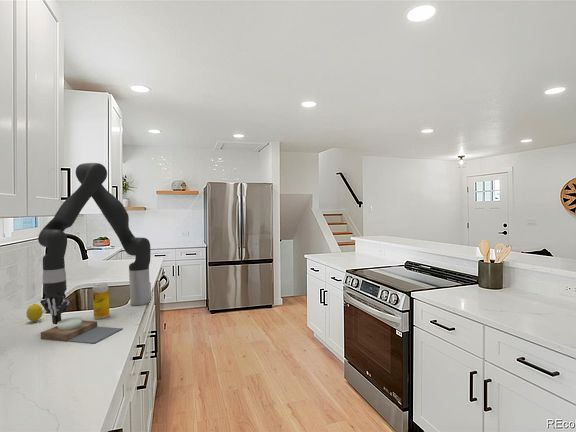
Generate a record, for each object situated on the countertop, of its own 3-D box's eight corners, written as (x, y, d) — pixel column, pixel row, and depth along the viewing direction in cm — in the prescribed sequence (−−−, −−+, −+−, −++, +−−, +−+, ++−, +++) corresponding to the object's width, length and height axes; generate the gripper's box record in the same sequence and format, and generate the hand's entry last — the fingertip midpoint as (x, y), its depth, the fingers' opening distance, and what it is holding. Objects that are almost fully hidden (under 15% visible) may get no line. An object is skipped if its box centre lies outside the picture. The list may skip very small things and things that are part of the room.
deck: (73, 325, 138) (72, 319, 138) (97, 327, 135) (97, 321, 135) (40, 339, 124) (40, 332, 124) (67, 341, 121) (66, 334, 121)
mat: (98, 327, 135) (98, 326, 135) (122, 329, 132) (122, 328, 132) (67, 341, 121) (67, 340, 121) (94, 343, 118) (94, 342, 118)
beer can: (90, 318, 146) (89, 284, 146) (104, 314, 151) (102, 281, 151) (99, 320, 143) (97, 286, 143) (112, 316, 149) (111, 282, 148)
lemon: (34, 324, 140) (33, 305, 140) (23, 323, 141) (22, 305, 141) (46, 319, 146) (45, 301, 145) (35, 319, 147) (34, 301, 146)
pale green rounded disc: (69, 322, 134) (69, 316, 134) (86, 323, 132) (86, 317, 132) (52, 330, 126) (51, 323, 126) (70, 330, 125) (70, 324, 125)
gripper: (76, 278, 132) (78, 321, 133) (50, 277, 135) (52, 319, 136) (59, 283, 125) (61, 328, 126) (31, 281, 128) (34, 326, 129)
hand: (56, 323), depth 131 cm, fingers closed
